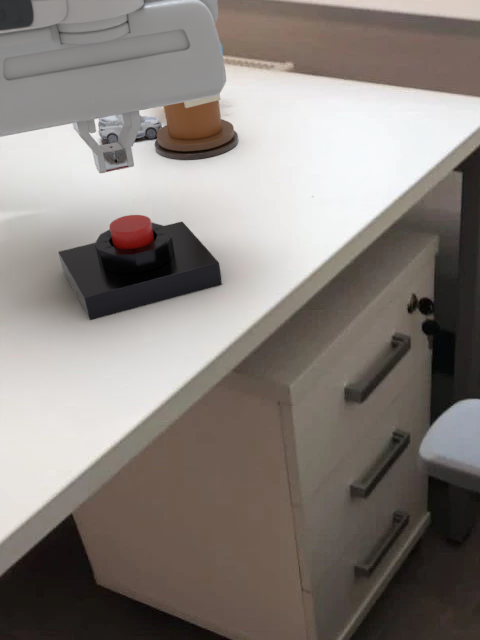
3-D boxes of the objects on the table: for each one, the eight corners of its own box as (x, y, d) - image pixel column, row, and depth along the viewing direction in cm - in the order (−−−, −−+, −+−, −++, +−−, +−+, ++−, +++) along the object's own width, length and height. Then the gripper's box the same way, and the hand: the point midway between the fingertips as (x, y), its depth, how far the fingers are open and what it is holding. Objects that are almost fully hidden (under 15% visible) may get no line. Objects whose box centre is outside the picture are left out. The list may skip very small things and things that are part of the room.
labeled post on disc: (145, 136, 107) (114, -43, 95) (212, 118, 111) (191, -56, 98) (178, 157, 101) (149, -31, 89) (248, 138, 104) (230, -46, 92)
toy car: (166, 137, 109) (163, 112, 107) (101, 147, 107) (96, 122, 105) (162, 127, 111) (159, 103, 110) (99, 137, 110) (94, 112, 108)
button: (119, 255, 76) (115, 236, 75) (108, 239, 78) (104, 220, 77) (159, 245, 77) (156, 226, 76) (147, 229, 79) (144, 211, 78)
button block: (90, 321, 75) (79, 278, 72) (63, 273, 82) (53, 232, 79) (222, 285, 78) (216, 243, 76) (185, 242, 85) (179, 202, 83)
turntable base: (170, 166, 101) (169, 160, 101) (145, 140, 108) (144, 135, 108) (251, 148, 104) (250, 142, 104) (221, 124, 111) (220, 119, 111)
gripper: (199, -42, 70) (218, 133, 79) (-66, -5, 64) (-14, 180, 73) (228, -29, 66) (244, 155, 74) (-55, 13, 60) (-1, 207, 68)
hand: (115, 168), depth 74 cm, fingers closed
